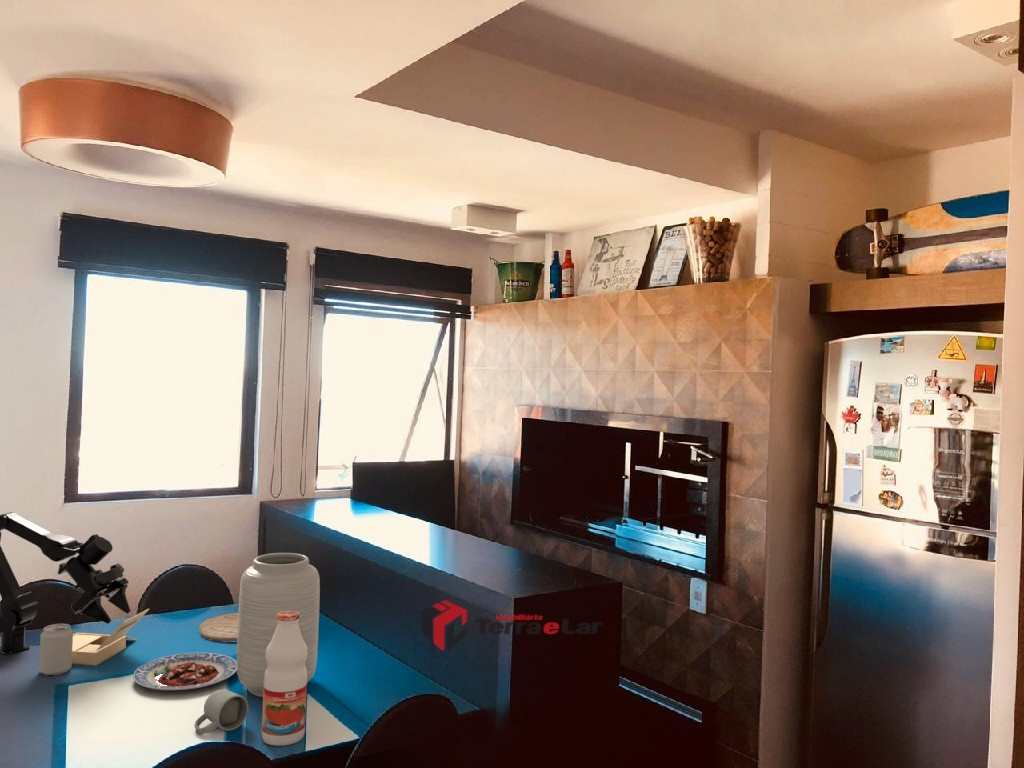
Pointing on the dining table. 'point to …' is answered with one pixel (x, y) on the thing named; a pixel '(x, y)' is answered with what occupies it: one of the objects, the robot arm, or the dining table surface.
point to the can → (56, 649)
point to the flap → (123, 629)
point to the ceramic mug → (223, 711)
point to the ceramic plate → (185, 671)
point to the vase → (275, 612)
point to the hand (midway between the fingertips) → (119, 617)
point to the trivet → (220, 628)
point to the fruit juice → (285, 683)
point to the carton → (94, 648)
